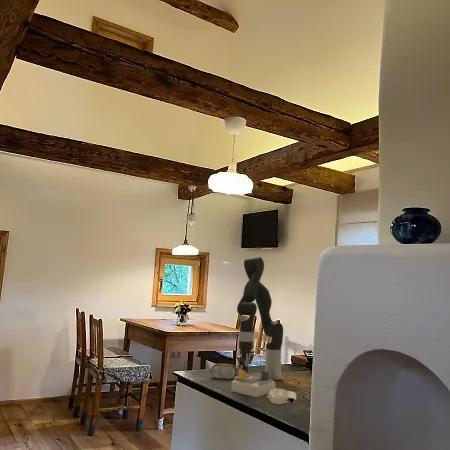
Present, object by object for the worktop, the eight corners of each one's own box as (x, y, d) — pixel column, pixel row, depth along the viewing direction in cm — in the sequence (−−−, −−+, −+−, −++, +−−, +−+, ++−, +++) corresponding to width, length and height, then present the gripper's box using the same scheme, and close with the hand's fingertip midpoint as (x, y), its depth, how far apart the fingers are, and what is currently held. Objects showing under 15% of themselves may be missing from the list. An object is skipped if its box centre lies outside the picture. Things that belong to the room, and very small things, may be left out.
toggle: (263, 380, 238) (263, 370, 239) (270, 381, 236) (270, 371, 236) (259, 380, 236) (260, 371, 237) (266, 382, 233) (267, 372, 234)
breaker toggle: (240, 379, 238) (240, 369, 238) (247, 380, 235) (247, 370, 236) (237, 380, 235) (237, 370, 236) (243, 381, 233) (244, 371, 233)
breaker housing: (250, 385, 246) (250, 373, 247) (274, 391, 236) (275, 378, 237) (231, 391, 233) (231, 378, 234) (256, 397, 223) (257, 383, 224)
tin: (236, 378, 262) (237, 364, 263) (236, 380, 259) (236, 365, 260) (211, 377, 264) (211, 362, 265) (210, 378, 261) (211, 363, 262)
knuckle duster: (296, 406, 211) (265, 403, 214) (296, 396, 229) (267, 394, 232) (296, 399, 212) (265, 396, 214) (296, 390, 229) (268, 387, 232)
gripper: (247, 337, 247) (246, 370, 245) (232, 340, 236) (231, 373, 235) (258, 339, 242) (258, 372, 240) (244, 342, 232) (243, 376, 230)
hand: (245, 373), depth 237 cm, fingers closed
